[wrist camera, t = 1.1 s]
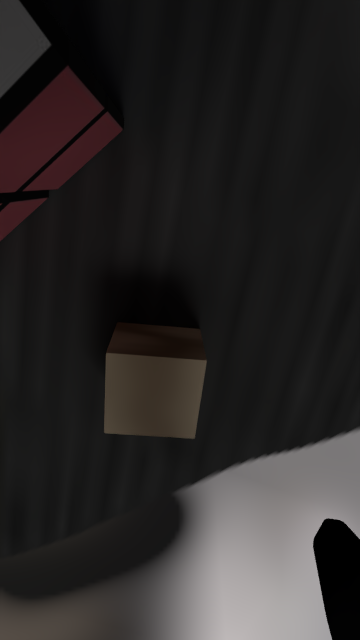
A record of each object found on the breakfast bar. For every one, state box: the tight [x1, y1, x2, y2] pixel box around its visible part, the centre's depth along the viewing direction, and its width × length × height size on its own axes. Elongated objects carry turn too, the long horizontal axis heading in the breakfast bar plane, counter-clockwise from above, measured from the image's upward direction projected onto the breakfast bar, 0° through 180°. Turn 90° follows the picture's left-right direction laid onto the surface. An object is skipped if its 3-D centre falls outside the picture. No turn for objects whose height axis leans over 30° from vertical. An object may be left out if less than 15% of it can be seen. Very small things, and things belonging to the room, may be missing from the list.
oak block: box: [104, 322, 207, 438], centre depth 19 cm, size 5×5×4 cm
